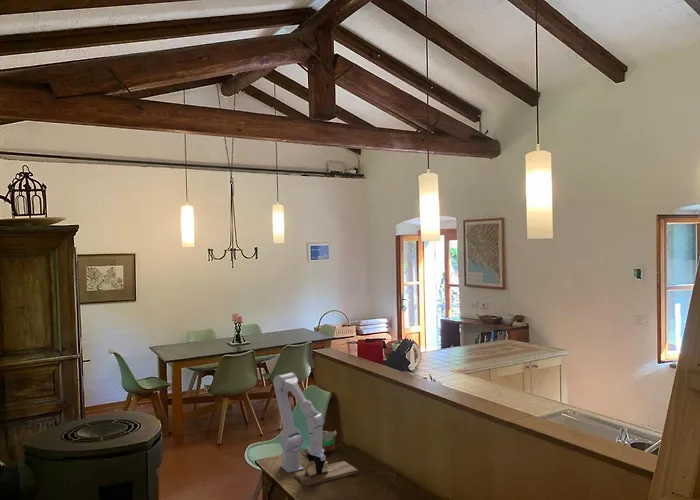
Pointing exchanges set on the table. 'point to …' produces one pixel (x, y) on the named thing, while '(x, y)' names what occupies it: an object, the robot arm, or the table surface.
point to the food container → (328, 441)
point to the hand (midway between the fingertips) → (316, 471)
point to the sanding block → (314, 469)
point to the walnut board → (333, 473)
